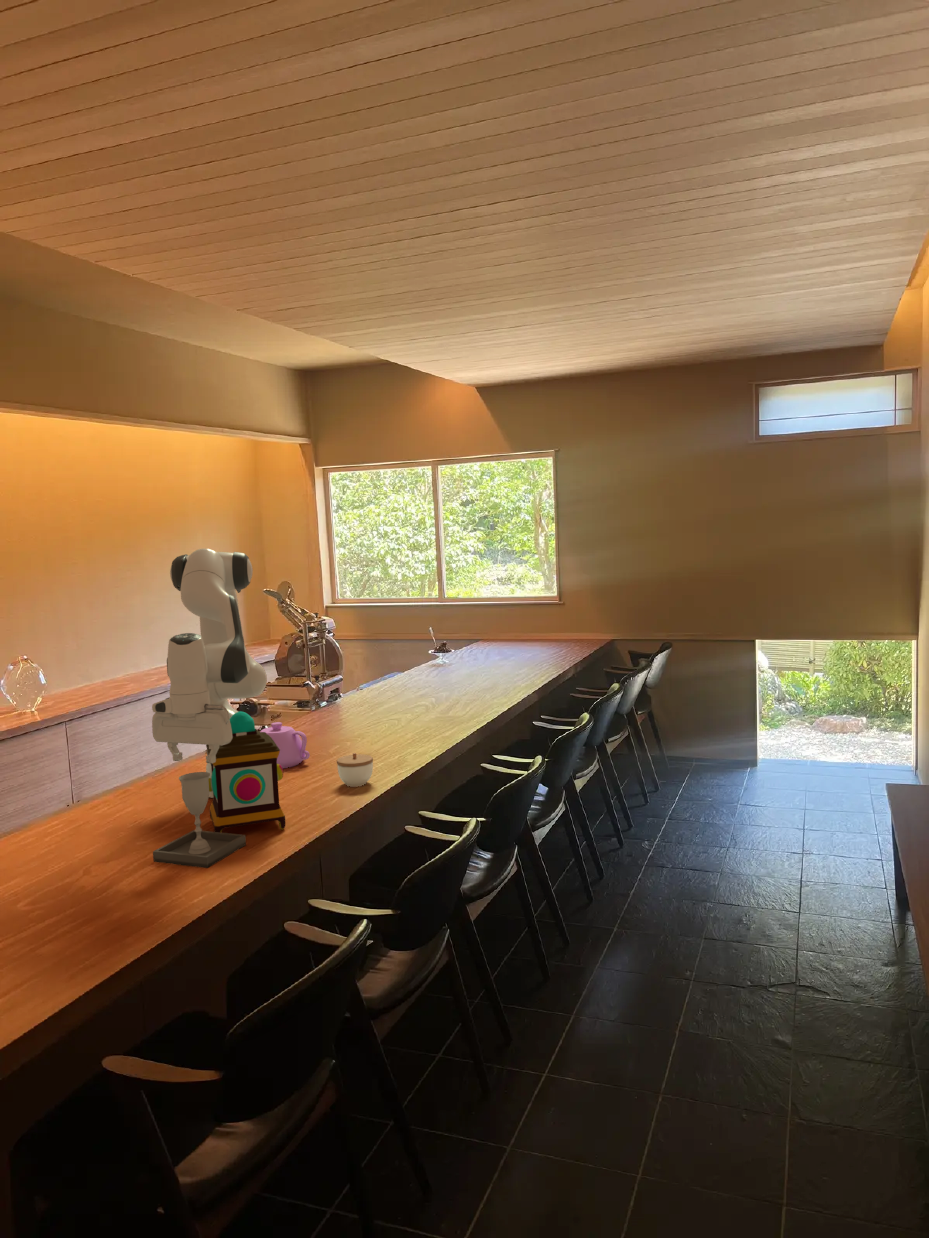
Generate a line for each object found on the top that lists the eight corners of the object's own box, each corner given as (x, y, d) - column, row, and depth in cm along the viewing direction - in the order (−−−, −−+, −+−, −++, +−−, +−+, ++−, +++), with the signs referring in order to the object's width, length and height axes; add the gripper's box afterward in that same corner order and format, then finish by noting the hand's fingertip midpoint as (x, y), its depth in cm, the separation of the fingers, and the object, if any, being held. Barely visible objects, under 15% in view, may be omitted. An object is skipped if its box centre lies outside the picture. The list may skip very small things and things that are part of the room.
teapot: (322, 757, 290) (319, 718, 289) (297, 772, 273) (294, 729, 272) (256, 755, 297) (253, 716, 296) (228, 768, 281) (225, 727, 279)
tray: (194, 839, 214) (194, 829, 214) (246, 844, 209) (245, 834, 208) (153, 861, 200) (152, 851, 200) (207, 868, 195) (206, 857, 194)
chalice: (204, 842, 209) (199, 770, 207) (221, 848, 205) (216, 774, 203) (178, 851, 203) (172, 777, 202) (194, 857, 199) (189, 782, 197)
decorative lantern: (204, 819, 230) (197, 708, 227) (279, 808, 236) (273, 700, 234) (210, 843, 211) (202, 723, 208) (291, 830, 218) (285, 714, 215)
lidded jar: (330, 787, 255) (329, 756, 254) (351, 777, 264) (350, 747, 264) (360, 790, 250) (359, 759, 249) (381, 780, 259) (379, 750, 259)
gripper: (235, 702, 200) (239, 760, 201) (164, 699, 207) (168, 755, 209) (219, 707, 194) (223, 767, 196) (146, 704, 201) (150, 762, 203)
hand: (194, 761), depth 202 cm, fingers open, 8 cm apart
